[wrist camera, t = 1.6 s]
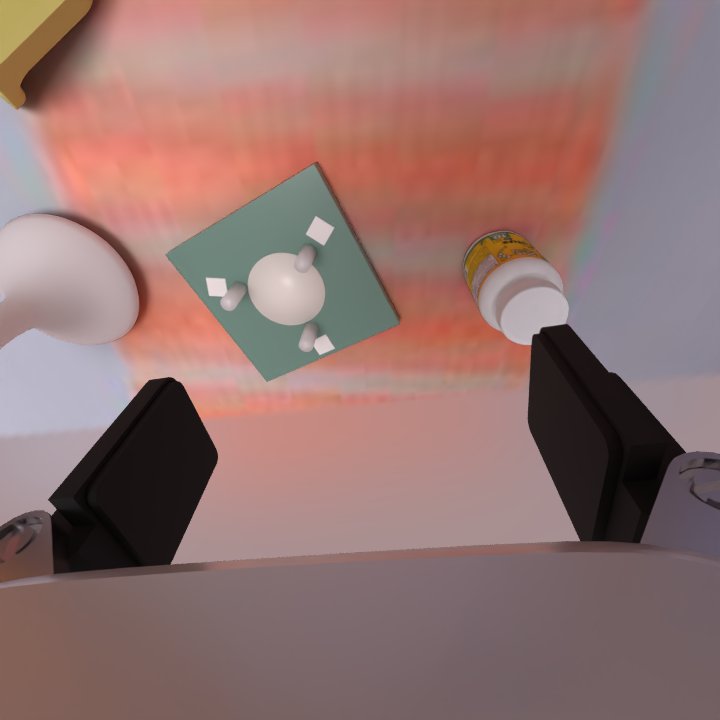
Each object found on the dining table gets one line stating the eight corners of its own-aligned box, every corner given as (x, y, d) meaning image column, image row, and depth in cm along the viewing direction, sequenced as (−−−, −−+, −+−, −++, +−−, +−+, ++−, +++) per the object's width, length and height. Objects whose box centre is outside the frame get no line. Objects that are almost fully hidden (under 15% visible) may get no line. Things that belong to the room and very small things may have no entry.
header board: (316, 161, 28) (307, 170, 25) (399, 317, 35) (401, 341, 32) (171, 249, 33) (146, 268, 29) (270, 374, 39) (258, 401, 36)
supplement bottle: (449, 276, 33) (470, 333, 25) (488, 215, 30) (526, 258, 22) (502, 303, 34) (539, 367, 26) (545, 247, 31) (601, 299, 23)
